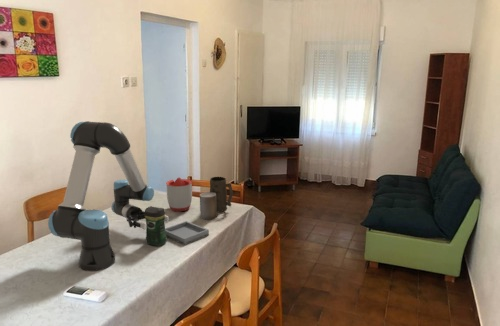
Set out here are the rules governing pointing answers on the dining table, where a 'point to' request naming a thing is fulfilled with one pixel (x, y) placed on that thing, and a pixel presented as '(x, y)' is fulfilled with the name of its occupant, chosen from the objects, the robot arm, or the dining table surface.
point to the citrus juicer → (179, 194)
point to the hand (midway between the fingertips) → (156, 222)
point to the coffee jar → (155, 226)
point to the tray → (186, 232)
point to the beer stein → (221, 192)
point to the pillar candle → (208, 205)
